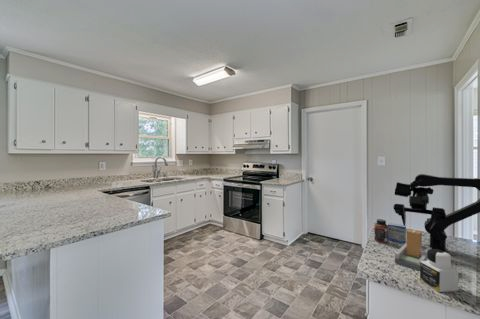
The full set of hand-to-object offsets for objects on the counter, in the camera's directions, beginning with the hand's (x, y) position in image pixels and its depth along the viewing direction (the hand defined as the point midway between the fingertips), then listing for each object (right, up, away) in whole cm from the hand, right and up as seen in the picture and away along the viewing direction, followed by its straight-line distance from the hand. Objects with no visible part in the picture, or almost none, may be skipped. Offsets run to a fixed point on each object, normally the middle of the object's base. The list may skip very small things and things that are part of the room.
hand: (416, 227), depth 99 cm
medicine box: (+2, -12, +15) cm, 20 cm away
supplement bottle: (-7, -12, +15) cm, 20 cm away
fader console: (-5, -12, -5) cm, 14 cm away
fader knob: (-5, -10, -5) cm, 13 cm away
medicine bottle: (-12, -13, -24) cm, 30 cm away
